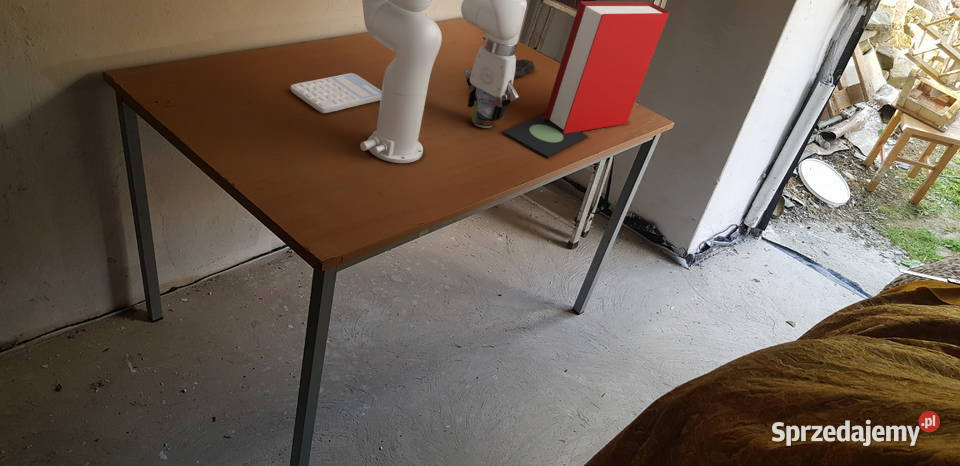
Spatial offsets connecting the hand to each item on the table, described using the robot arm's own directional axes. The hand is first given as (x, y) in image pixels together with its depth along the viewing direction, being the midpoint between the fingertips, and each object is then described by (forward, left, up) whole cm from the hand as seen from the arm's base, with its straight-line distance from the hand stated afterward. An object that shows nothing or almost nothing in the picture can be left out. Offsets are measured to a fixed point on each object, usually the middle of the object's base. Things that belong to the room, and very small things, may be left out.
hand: (484, 112), depth 177 cm
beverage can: (0, 0, -4) cm, 4 cm away
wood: (+35, +16, -4) cm, 39 cm away
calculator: (-22, +29, -4) cm, 37 cm away
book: (+29, -15, -3) cm, 33 cm away
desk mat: (+11, -13, -3) cm, 17 cm away
